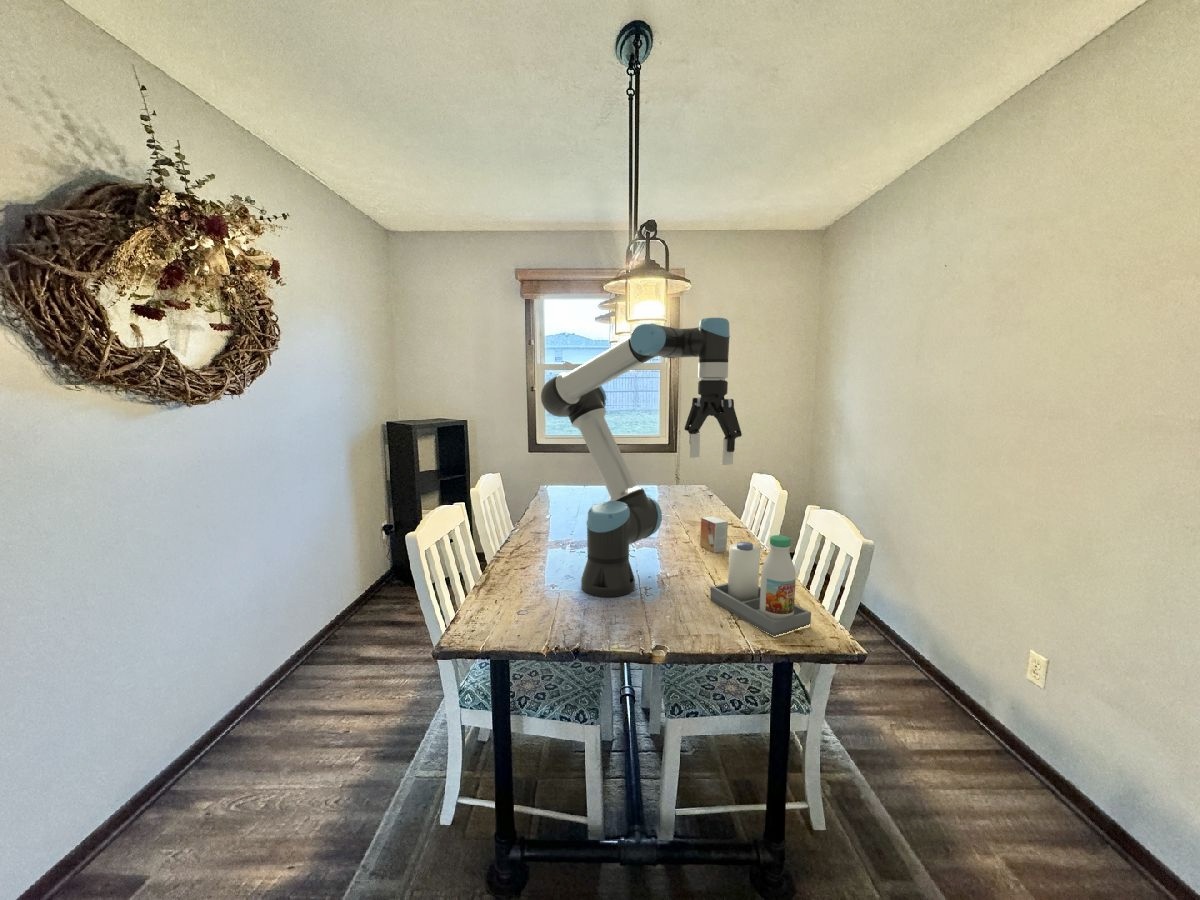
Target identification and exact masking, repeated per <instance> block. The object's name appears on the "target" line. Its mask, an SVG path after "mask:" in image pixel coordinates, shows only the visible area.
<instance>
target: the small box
mask: <svg viewBox="0 0 1200 900" xmlns="http://www.w3.org/2000/svg"><path fill="white" fill-rule="evenodd" d="M728 525H729V521H727V520H724V519H721V518H718V517H716V516H714V515H712V516H705V517H703V516H702V517H701V519H700V539H699V540H700V541H699V546H700V547H701V548H704V549H705V550H708V551H709V552H711V553H713V554H716V553H722V552H727V547H728V545H727V544H728V530H729V529H728V527H729V526H728Z"/></svg>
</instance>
